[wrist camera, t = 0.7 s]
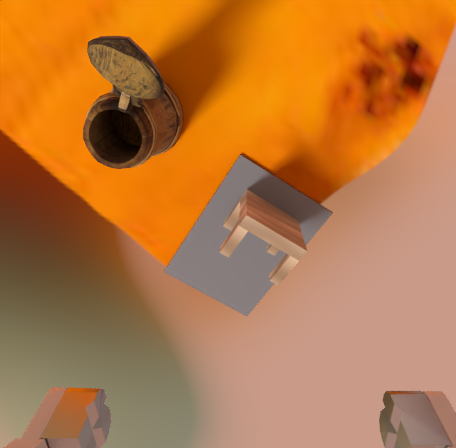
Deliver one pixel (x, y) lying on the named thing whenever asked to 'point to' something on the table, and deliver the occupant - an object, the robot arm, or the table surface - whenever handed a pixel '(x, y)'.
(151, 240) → the table surface
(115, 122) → the wooden mug
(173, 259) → the mat
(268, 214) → the stool
